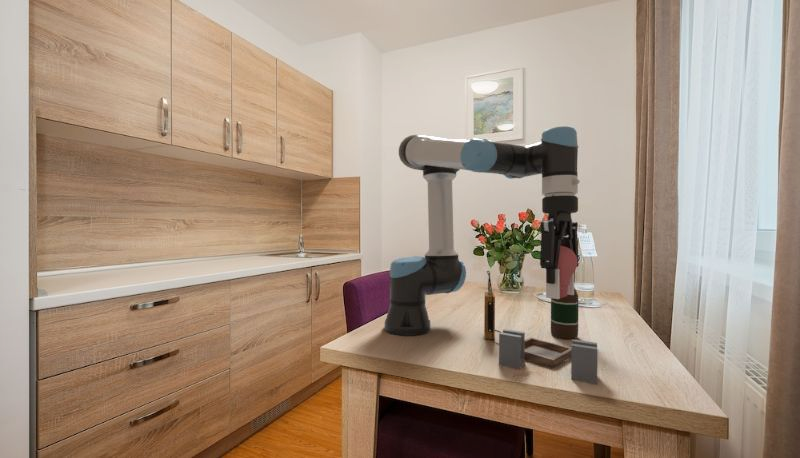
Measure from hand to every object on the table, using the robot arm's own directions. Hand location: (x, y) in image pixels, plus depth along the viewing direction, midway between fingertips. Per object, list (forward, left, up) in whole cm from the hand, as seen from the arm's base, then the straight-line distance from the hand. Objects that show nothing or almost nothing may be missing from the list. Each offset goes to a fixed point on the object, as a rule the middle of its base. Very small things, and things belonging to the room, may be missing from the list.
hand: (560, 295), depth 80 cm
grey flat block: (+5, +2, -18) cm, 19 cm away
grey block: (-10, -3, -18) cm, 21 cm away
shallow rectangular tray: (-8, +8, -18) cm, 21 cm away
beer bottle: (-11, +29, -18) cm, 36 cm away
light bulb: (0, 0, -1) cm, 1 cm away
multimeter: (-23, +13, -18) cm, 32 cm away
